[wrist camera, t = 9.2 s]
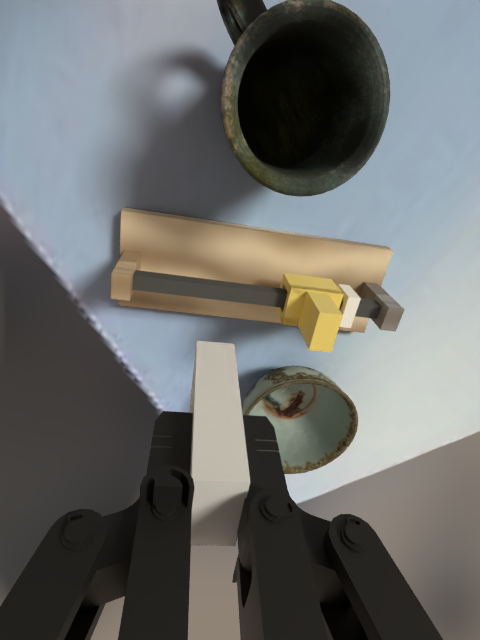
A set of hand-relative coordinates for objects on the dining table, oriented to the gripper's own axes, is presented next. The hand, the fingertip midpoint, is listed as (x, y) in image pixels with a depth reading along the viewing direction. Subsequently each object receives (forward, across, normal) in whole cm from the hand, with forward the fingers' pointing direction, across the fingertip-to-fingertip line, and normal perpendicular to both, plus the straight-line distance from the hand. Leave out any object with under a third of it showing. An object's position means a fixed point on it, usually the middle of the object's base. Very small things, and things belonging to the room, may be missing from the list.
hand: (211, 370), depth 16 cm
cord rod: (+21, +6, -6) cm, 22 cm away
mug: (+27, +4, +11) cm, 30 cm away
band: (+22, +14, -6) cm, 27 cm away
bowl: (+26, +12, -21) cm, 36 cm away
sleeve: (+22, +10, -6) cm, 25 cm away
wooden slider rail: (+26, +6, -6) cm, 28 cm away
